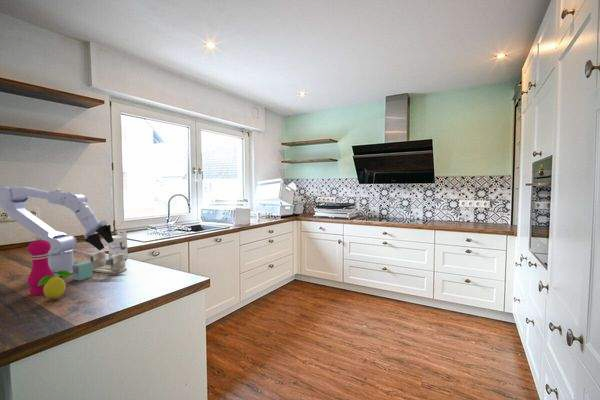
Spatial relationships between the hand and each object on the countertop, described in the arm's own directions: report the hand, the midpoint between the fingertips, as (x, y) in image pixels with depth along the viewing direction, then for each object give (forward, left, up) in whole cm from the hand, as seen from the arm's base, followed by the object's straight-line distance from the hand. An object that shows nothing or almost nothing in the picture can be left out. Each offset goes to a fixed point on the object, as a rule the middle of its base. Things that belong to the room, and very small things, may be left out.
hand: (106, 245), depth 122 cm
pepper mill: (-24, -2, -12) cm, 27 cm away
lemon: (-26, -14, -12) cm, 32 cm away
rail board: (+1, +2, -11) cm, 12 cm away
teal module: (-9, +1, -11) cm, 15 cm away
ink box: (+16, +16, -12) cm, 26 cm away
